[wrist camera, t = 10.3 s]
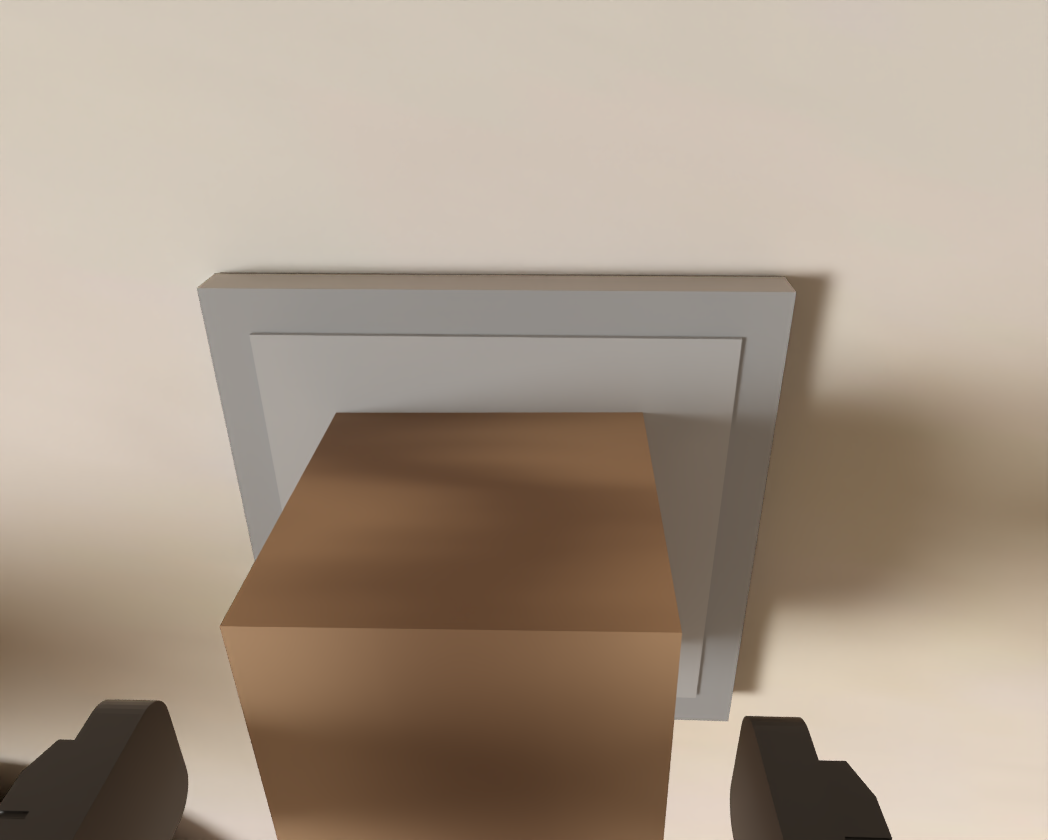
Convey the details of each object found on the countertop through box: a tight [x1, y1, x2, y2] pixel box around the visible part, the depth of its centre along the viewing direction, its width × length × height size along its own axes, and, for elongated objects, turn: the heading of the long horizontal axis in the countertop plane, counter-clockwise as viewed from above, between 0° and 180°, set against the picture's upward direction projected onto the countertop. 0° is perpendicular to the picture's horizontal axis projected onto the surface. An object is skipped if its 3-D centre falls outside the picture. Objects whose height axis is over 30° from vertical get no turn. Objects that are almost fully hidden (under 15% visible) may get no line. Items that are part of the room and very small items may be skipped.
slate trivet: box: [197, 273, 796, 721], centre depth 16 cm, size 10×10×1 cm
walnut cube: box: [220, 412, 682, 840], centre depth 13 cm, size 6×6×6 cm
